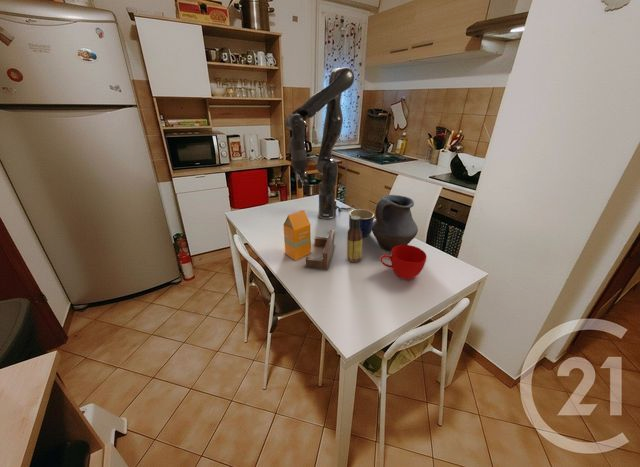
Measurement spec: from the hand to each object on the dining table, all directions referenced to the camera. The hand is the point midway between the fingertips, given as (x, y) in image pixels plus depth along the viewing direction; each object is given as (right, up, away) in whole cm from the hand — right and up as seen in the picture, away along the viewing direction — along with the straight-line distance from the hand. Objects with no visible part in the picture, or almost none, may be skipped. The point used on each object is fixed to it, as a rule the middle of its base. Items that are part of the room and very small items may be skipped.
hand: (302, 190), depth 136 cm
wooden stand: (+9, -32, -19) cm, 39 cm away
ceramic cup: (+41, -39, -31) cm, 64 cm away
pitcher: (+42, -29, -12) cm, 52 cm away
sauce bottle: (+23, -33, -22) cm, 46 cm away
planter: (+30, -22, 0) cm, 37 cm away
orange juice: (-1, -32, -18) cm, 36 cm away
